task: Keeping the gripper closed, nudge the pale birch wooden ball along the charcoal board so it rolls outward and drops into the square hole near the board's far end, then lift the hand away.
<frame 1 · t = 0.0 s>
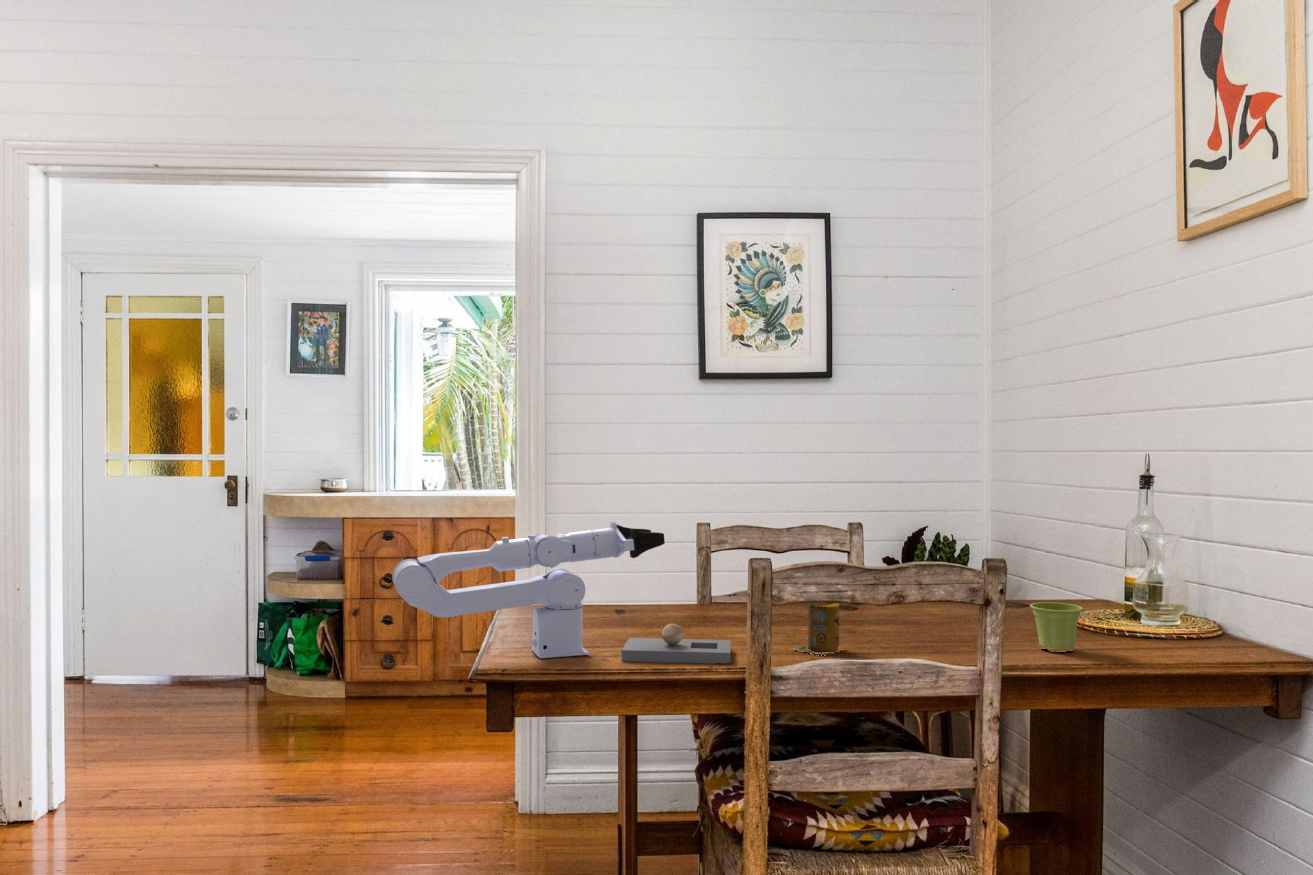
hand: (657, 536, 179), 22 cm above the table, tool horizontal, fingers open, 7 cm apart
board: (677, 655, 171), on the table
plant pot: (1056, 651, 176), on the table
ball: (672, 634, 171), point 4 cm above the table, touching board
condiment: (820, 651, 176), on the table
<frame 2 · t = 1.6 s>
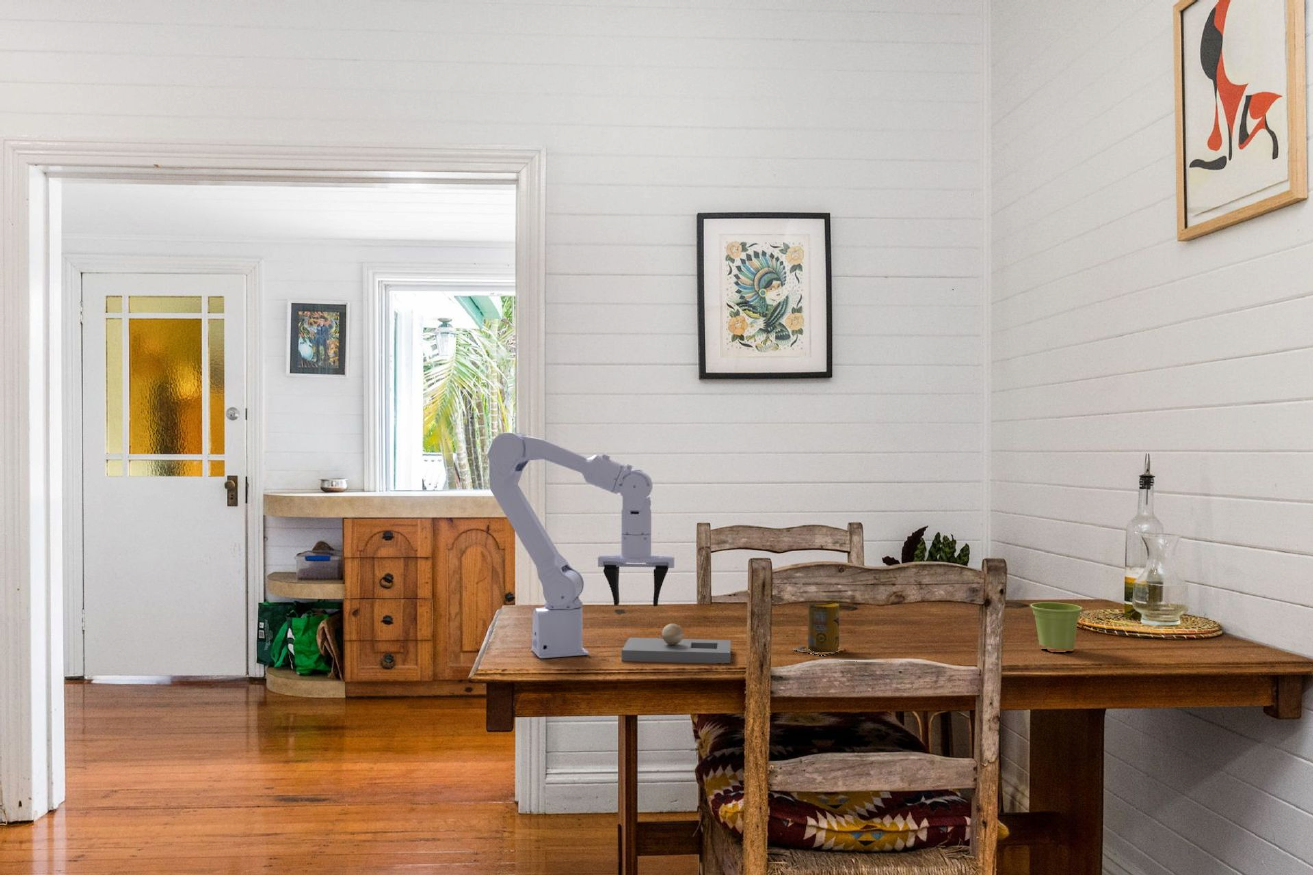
hand: (636, 605, 172), 9 cm above the table, tool pointing down, fingers open, 7 cm apart
nothing on the table moved.
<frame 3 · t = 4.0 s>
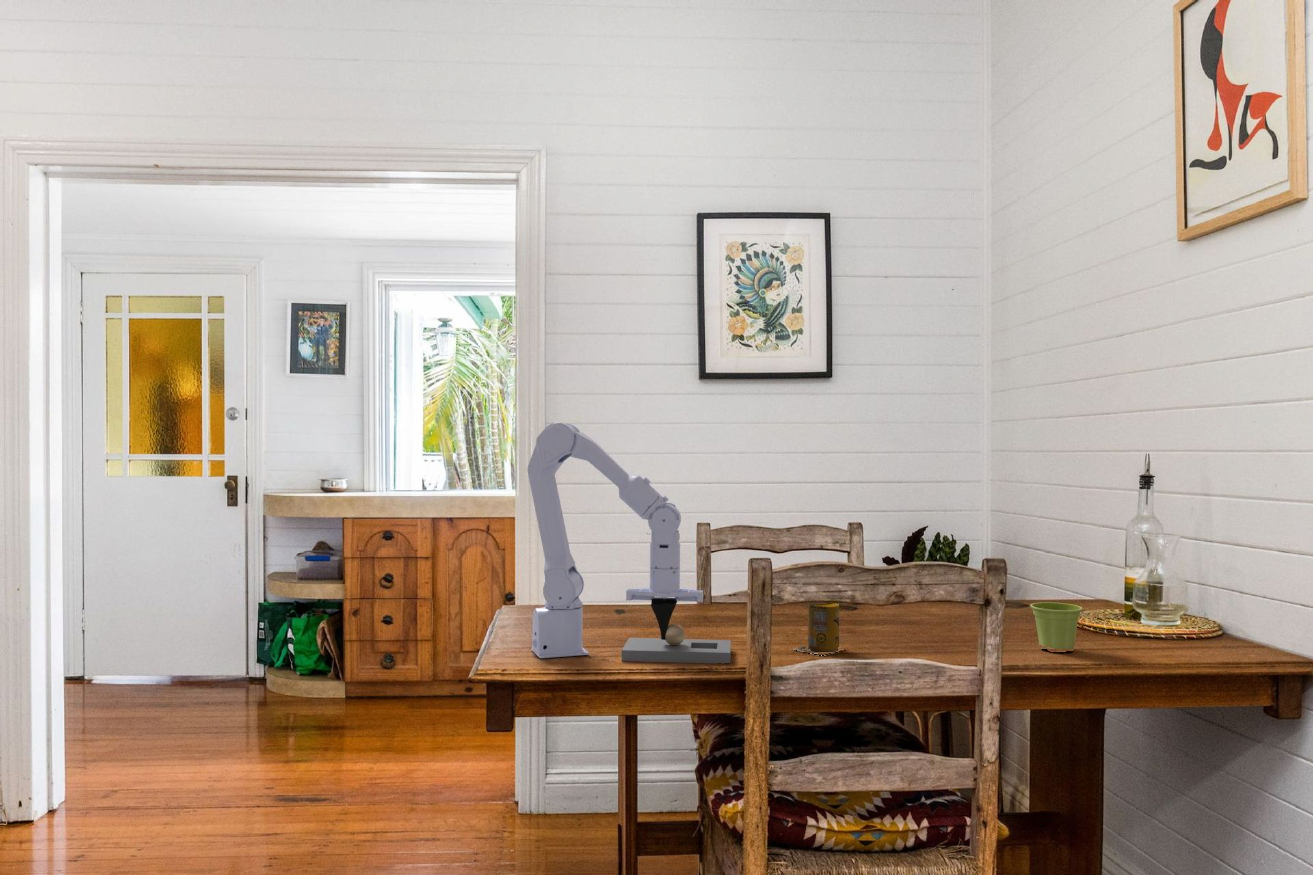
hand: (664, 638, 171), 3 cm above the table, tool pointing down, fingers closed, pressing on ball
ball: (674, 634, 171), point 4 cm above the table, tilted 10°, touching board, gripper
everything else where it was.
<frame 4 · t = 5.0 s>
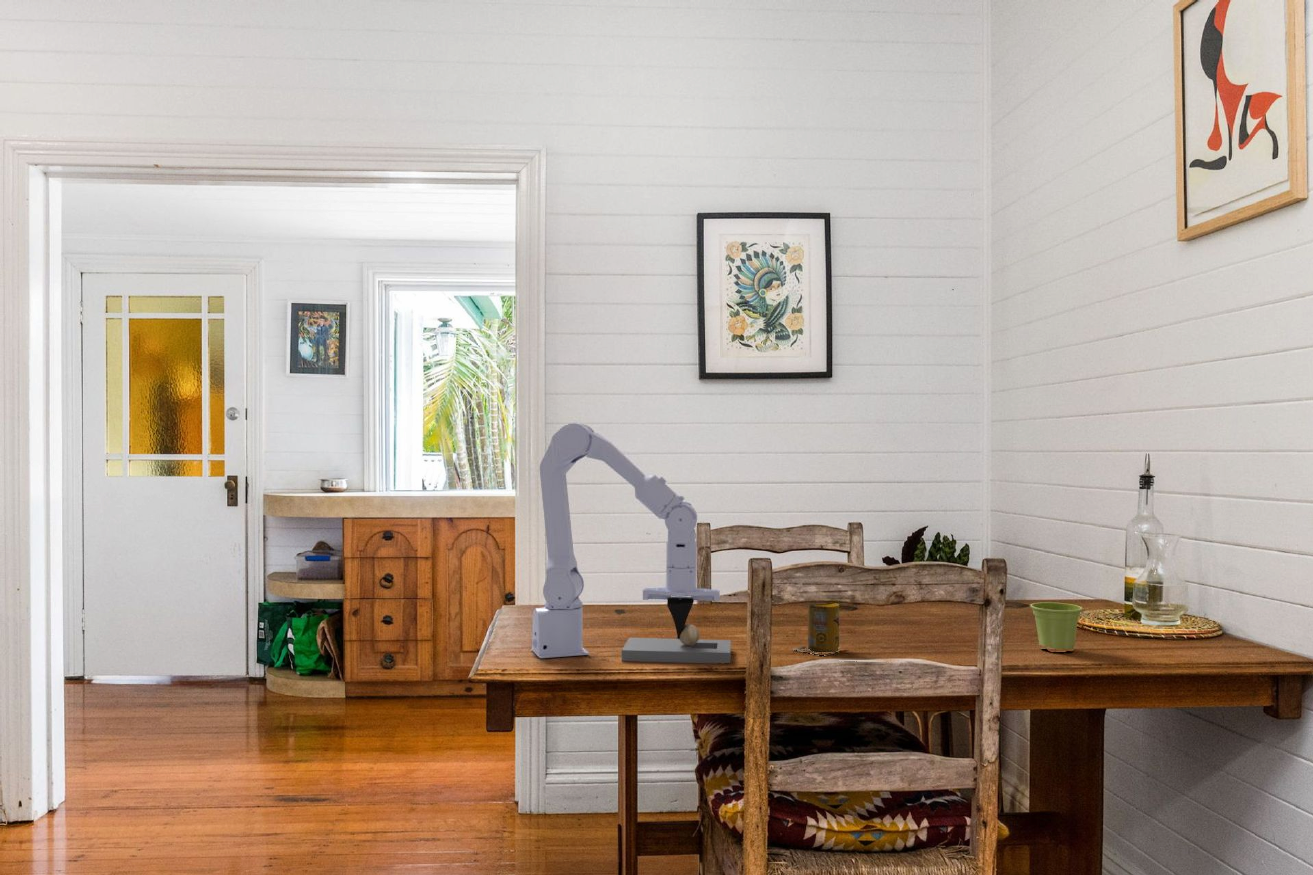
hand: (680, 638, 171), 3 cm above the table, tool pointing down, fingers closed, pressing on ball
ball: (688, 635, 171), point 4 cm above the table, tilted 91°, touching board, gripper
everything else where it was.
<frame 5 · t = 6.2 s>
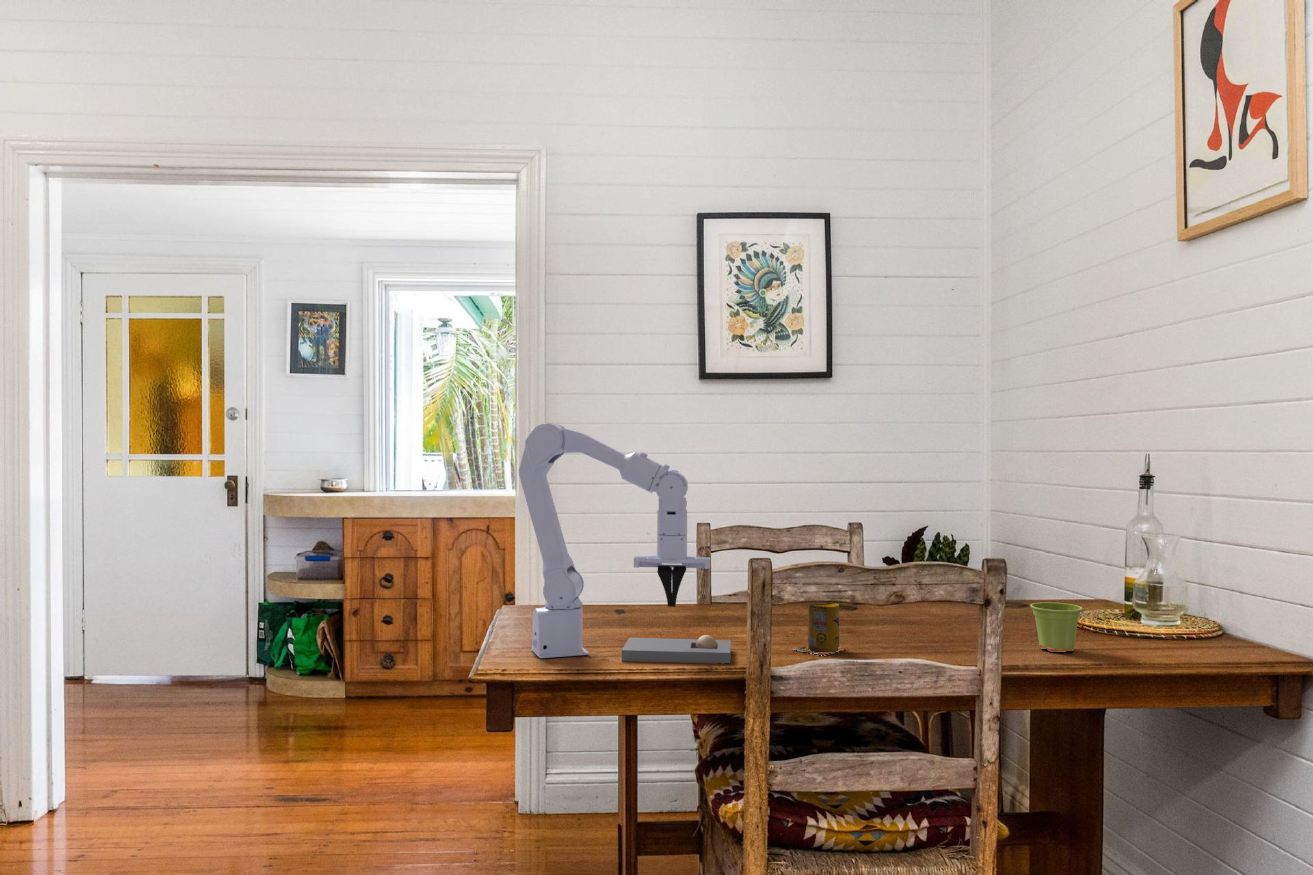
hand: (671, 605, 171), 9 cm above the table, tool pointing down, fingers closed
ball: (706, 645, 170), point 2 cm above the table, tilted 140°
everything else where it was.
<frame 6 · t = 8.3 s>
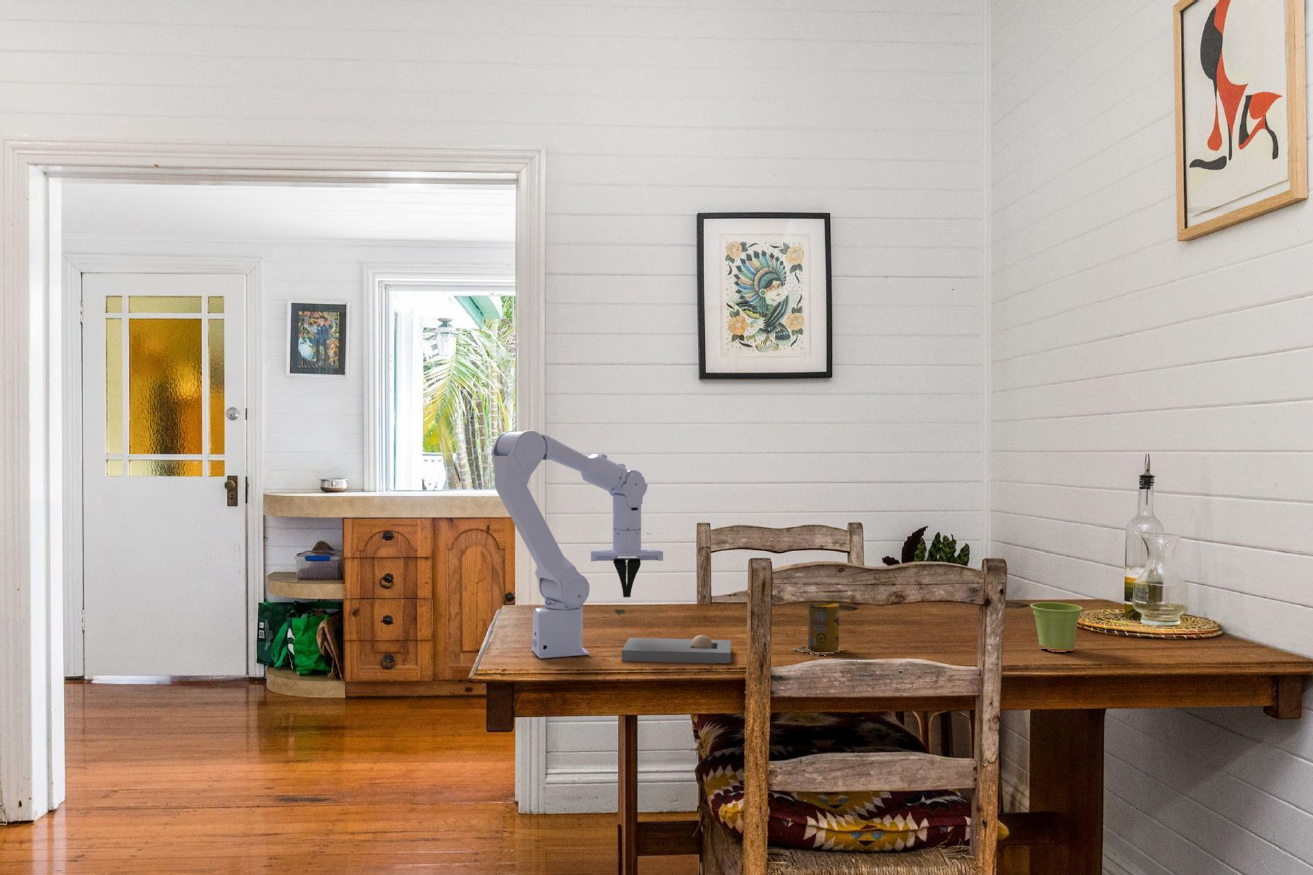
hand: (626, 596, 181), 9 cm above the table, tool pointing down, fingers closed
ball: (701, 645, 170), point 2 cm above the table, tilted 166°
everything else where it was.
at the end: ball 0.5 cm from the target spot on the board, point 2.0 cm above the board's base; ball moved 5.9 cm from its start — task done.
